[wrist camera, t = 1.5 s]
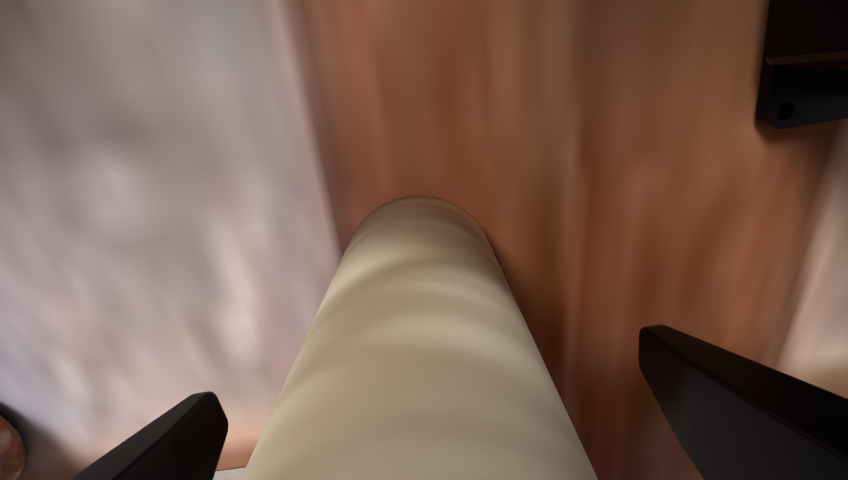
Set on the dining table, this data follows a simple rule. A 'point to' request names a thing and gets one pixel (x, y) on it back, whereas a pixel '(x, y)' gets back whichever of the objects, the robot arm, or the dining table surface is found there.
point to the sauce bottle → (11, 452)
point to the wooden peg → (419, 367)
